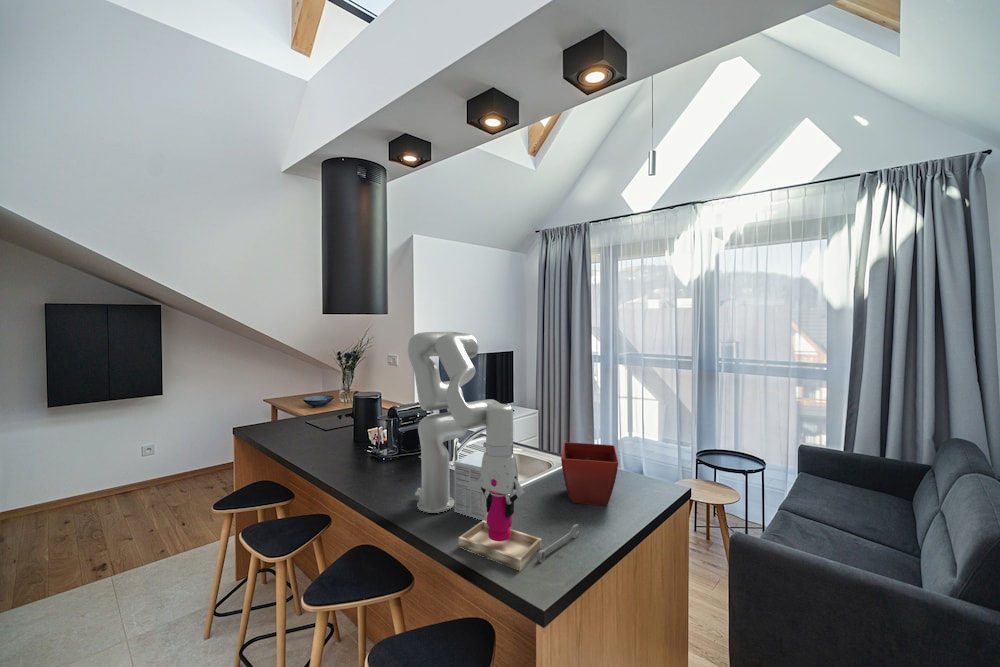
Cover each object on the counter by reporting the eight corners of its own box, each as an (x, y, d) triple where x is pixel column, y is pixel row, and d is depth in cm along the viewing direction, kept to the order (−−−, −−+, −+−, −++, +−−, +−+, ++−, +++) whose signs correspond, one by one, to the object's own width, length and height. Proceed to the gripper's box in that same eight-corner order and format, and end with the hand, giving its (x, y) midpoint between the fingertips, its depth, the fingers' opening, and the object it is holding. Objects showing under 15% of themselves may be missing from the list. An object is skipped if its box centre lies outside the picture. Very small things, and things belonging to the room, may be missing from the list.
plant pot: (618, 511, 139) (618, 462, 138) (560, 506, 142) (560, 458, 142) (614, 488, 157) (614, 444, 157) (563, 484, 161) (563, 441, 160)
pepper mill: (481, 535, 116) (481, 465, 116) (499, 526, 121) (499, 459, 121) (499, 545, 111) (499, 471, 111) (517, 535, 116) (517, 465, 116)
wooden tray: (458, 548, 117) (458, 537, 117) (483, 529, 127) (482, 520, 127) (520, 571, 106) (520, 559, 106) (541, 549, 116) (541, 538, 116)
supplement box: (487, 523, 131) (486, 468, 130) (453, 513, 138) (453, 461, 137) (508, 507, 142) (508, 456, 142) (476, 498, 149) (476, 450, 148)
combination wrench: (539, 552, 109) (581, 523, 123) (535, 550, 110) (578, 522, 124) (539, 566, 109) (581, 535, 124) (535, 564, 110) (578, 534, 125)
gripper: (466, 447, 117) (467, 511, 117) (519, 458, 108) (519, 527, 108) (482, 441, 123) (482, 501, 124) (533, 450, 114) (533, 515, 114)
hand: (499, 512), depth 116 cm, fingers closed on pepper mill, 5 cm apart
